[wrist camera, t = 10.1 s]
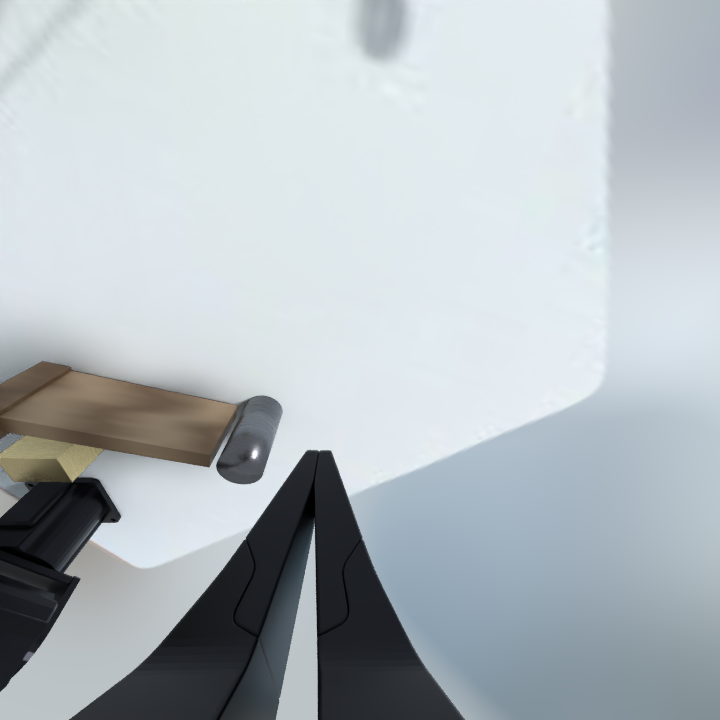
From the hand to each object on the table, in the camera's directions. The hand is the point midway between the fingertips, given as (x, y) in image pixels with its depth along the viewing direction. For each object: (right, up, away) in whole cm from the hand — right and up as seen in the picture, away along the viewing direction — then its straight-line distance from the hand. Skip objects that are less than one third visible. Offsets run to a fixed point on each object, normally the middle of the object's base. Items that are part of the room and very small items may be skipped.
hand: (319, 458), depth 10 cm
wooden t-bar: (-15, +1, +12) cm, 19 cm away
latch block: (-21, -2, +14) cm, 26 cm away
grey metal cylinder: (-7, -1, +14) cm, 16 cm away
